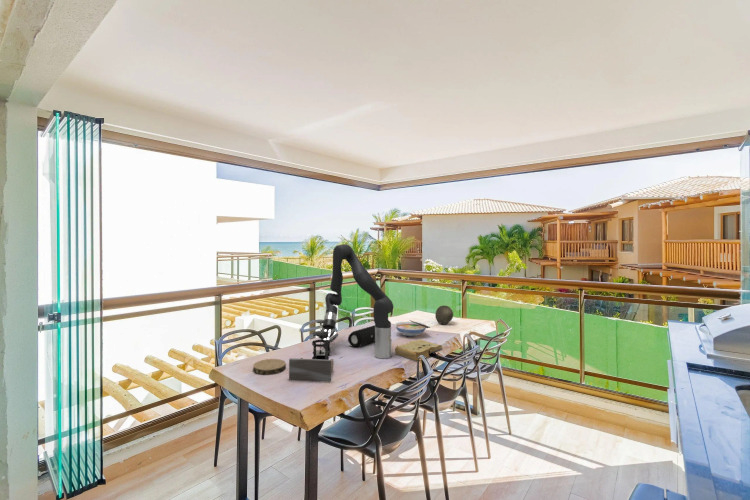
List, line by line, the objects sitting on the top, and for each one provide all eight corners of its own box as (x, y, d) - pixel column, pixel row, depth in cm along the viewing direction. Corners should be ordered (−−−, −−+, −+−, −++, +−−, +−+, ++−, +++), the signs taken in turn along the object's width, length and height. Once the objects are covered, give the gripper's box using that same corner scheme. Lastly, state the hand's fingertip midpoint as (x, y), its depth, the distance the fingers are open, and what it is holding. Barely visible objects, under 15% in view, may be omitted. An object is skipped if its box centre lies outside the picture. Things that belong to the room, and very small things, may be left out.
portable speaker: (358, 349, 219) (359, 333, 219) (346, 346, 225) (347, 330, 225) (383, 340, 239) (383, 325, 239) (372, 338, 245) (372, 323, 245)
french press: (319, 368, 185) (320, 324, 184) (306, 364, 190) (307, 322, 190) (334, 362, 195) (335, 320, 194) (322, 359, 200) (322, 318, 199)
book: (415, 362, 197) (416, 351, 197) (394, 355, 210) (394, 345, 209) (442, 353, 214) (443, 343, 214) (421, 347, 227) (421, 337, 226)
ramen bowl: (388, 332, 259) (388, 321, 259) (415, 329, 269) (415, 319, 269) (405, 341, 237) (405, 329, 237) (434, 338, 246) (434, 326, 246)
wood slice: (289, 372, 180) (289, 366, 180) (256, 377, 172) (256, 371, 172) (280, 362, 194) (281, 357, 194) (250, 367, 186) (250, 361, 186)
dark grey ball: (435, 325, 283) (435, 307, 282) (435, 321, 297) (435, 303, 296) (453, 326, 280) (453, 307, 280) (452, 322, 294) (452, 304, 294)
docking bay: (297, 369, 184) (297, 350, 183) (336, 370, 182) (336, 351, 182) (289, 380, 169) (289, 359, 169) (330, 381, 168) (330, 360, 168)
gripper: (318, 317, 212) (312, 344, 201) (339, 318, 212) (335, 345, 200) (319, 324, 218) (314, 350, 206) (341, 325, 217) (337, 351, 205)
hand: (325, 347), depth 203 cm, fingers closed
